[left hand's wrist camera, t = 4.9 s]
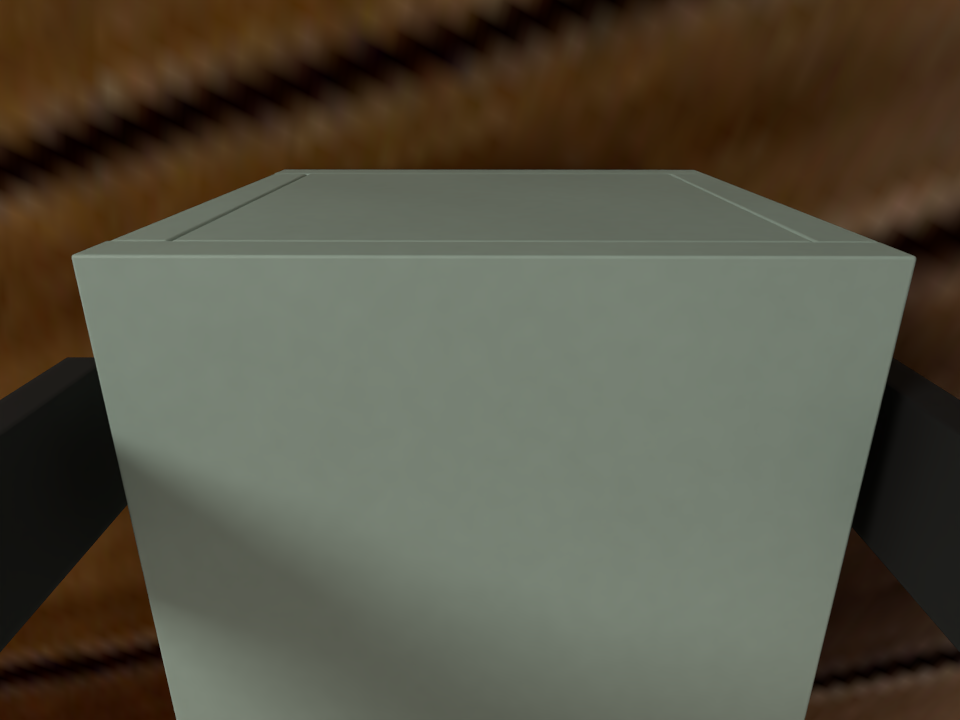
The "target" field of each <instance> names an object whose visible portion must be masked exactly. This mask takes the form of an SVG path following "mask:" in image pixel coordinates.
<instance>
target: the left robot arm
mask: <svg viewBox="0 0 960 720" xmlns="http://www.w3.org/2000/svg"><path fill="white" fill-rule="evenodd" d="M126 506H127V499H126V495H125V490H124V486H123V482H122V477H121V473H120V468H119V464H118V460H117V455H116V451H115V446H114V442H113V438H112V433H111V429H110V424H109V420H108V415H107V411H106V407H105V402H104V398H103V393H102V389H101V385H100V380H99V376H98V371H97V367H96V363H95V358H66V359H64V360H63V361H61V362H59V363H58V364H56V365H55V366H53V367H52V368H50V369H48V370H47V371H45V372H44V373H42V374H41V375H39V376H37V377H36V378H34V379H33V380H31V381H30V382H28V383H26V384H25V385H23V386H22V387H20V388H19V389H17V390H15V391H14V392H12V393H11V394H9V395H8V396H6V397H4V398H3V399H1V400H0V652H1V651H2V649H3V648H4V647H5V646H6V645H7V644H8V642H9V641H10V640H11V639H12V638H13V637H14V636H15V634H16V633H17V632H18V631H19V630H20V629H21V627H22V626H23V625H24V624H25V623H26V622H27V620H28V619H29V618H30V617H31V616H32V615H33V613H34V612H35V611H36V610H37V609H38V608H39V607H40V605H41V604H42V603H43V602H44V601H45V600H46V598H47V597H48V596H49V595H50V594H51V593H52V591H53V590H54V589H55V588H56V587H57V586H58V584H59V583H60V582H61V581H62V580H63V579H64V577H65V576H66V575H67V574H68V573H69V572H70V571H71V569H72V568H73V567H74V566H75V565H76V564H77V562H78V561H79V560H80V559H81V558H82V557H83V555H84V554H85V553H86V552H87V551H88V550H89V548H90V547H91V546H92V545H93V544H94V543H95V542H96V540H97V539H98V538H99V537H100V536H101V535H102V533H103V532H104V531H105V530H106V529H107V528H108V526H109V525H110V524H111V523H112V522H113V521H114V519H115V518H116V517H117V516H118V515H119V514H120V512H121V511H122V510H123V509H124V508H125V507H126ZM852 528H853V529H854V530H855V531H856V532H857V533H858V535H859V536H860V537H861V538H862V539H863V540H864V542H865V543H866V544H867V545H868V546H869V547H870V548H871V550H872V551H873V552H874V553H875V554H876V555H877V557H878V558H879V559H880V560H881V561H882V562H883V564H884V565H885V566H886V567H887V568H888V569H889V571H890V572H891V573H892V574H893V575H894V576H895V577H896V579H897V580H898V581H899V582H900V583H901V584H902V586H903V587H904V588H905V589H906V590H907V591H908V593H909V594H910V595H911V596H912V597H913V598H914V600H915V601H916V602H917V603H918V604H919V605H920V607H921V608H922V609H923V610H924V611H925V612H926V613H927V615H928V616H929V617H930V618H931V619H932V620H933V622H934V623H935V624H936V625H937V626H938V627H939V629H940V630H941V631H942V632H943V633H944V634H945V636H946V637H947V638H948V639H949V640H950V641H951V642H952V644H953V645H954V646H955V647H956V648H957V649H958V651H959V652H960V400H959V399H957V398H956V397H954V396H952V395H951V394H949V393H948V392H946V391H945V390H943V389H941V388H940V387H938V386H937V385H935V384H934V383H932V382H930V381H929V380H927V379H926V378H924V377H923V376H921V375H919V374H918V373H916V372H915V371H913V370H912V369H910V368H908V367H907V366H905V365H904V364H902V363H901V362H899V361H897V360H896V359H894V358H892V361H891V366H890V370H889V374H888V378H887V382H886V386H885V390H884V394H883V399H882V403H881V407H880V411H879V415H878V419H877V423H876V427H875V432H874V436H873V440H872V444H871V448H870V452H869V456H868V460H867V464H866V469H865V473H864V477H863V481H862V485H861V489H860V493H859V497H858V502H857V506H856V510H855V514H854V518H853V522H852Z"/></svg>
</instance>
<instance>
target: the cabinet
mask: <svg viewBox="0 0 960 720" xmlns="http://www.w3.org/2000/svg"><path fill="white" fill-rule="evenodd" d="M72 261H73V266H74V270H75V274H76V279H77V283H78V288H79V292H80V296H81V301H82V305H83V310H84V314H85V318H86V323H87V327H88V332H89V336H90V341H91V345H92V349H93V354H94V358H95V363H96V367H97V371H98V376H99V380H100V385H101V389H102V393H103V398H104V402H105V407H106V411H107V415H108V420H109V424H110V429H111V433H112V438H113V442H114V446H115V451H116V455H117V460H118V464H119V468H120V473H121V477H122V482H123V486H124V490H125V495H126V499H127V504H128V508H129V512H130V517H131V521H132V526H133V530H134V534H135V539H136V543H137V548H138V552H139V557H140V561H141V565H142V570H143V574H144V579H145V583H146V587H147V592H148V596H149V601H150V605H151V609H152V614H153V618H154V623H155V627H156V631H157V636H158V640H159V645H160V649H161V654H162V658H163V662H164V667H165V671H166V676H167V680H168V684H169V689H170V693H171V698H172V702H173V706H174V711H175V715H176V720H805V716H806V712H807V708H808V704H809V699H810V695H811V691H812V687H813V683H814V679H815V675H816V671H817V666H818V662H819V658H820V654H821V650H822V646H823V642H824V638H825V633H826V629H827V625H828V621H829V617H830V613H831V609H832V605H833V600H834V596H835V592H836V588H837V584H838V580H839V576H840V572H841V568H842V563H843V559H844V555H845V551H846V547H847V543H848V539H849V535H850V530H851V526H852V522H853V518H854V514H855V510H856V506H857V502H858V497H859V493H860V489H861V485H862V481H863V477H864V473H865V469H866V464H867V460H868V456H869V452H870V448H871V444H872V440H873V436H874V432H875V427H876V423H877V419H878V415H879V411H880V407H881V403H882V399H883V394H884V390H885V386H886V382H887V378H888V374H889V370H890V366H891V361H892V357H893V353H894V349H895V345H896V341H897V337H898V333H899V328H900V324H901V320H902V316H903V312H904V308H905V304H906V300H907V296H908V291H909V287H910V283H911V279H912V275H913V271H914V267H915V263H916V257H915V256H913V255H910V254H908V253H905V252H902V251H900V250H897V249H895V248H892V247H890V246H887V245H885V244H882V243H880V242H877V241H874V240H872V239H869V238H867V237H864V236H861V235H859V234H856V233H854V232H851V231H849V230H846V229H844V228H841V227H839V226H836V225H833V224H831V223H828V222H826V221H823V220H821V219H818V218H816V217H813V216H810V215H808V214H805V213H803V212H800V211H798V210H795V209H793V208H790V207H787V206H785V205H782V204H780V203H777V202H775V201H772V200H770V199H767V198H765V197H762V196H759V195H757V194H754V193H752V192H749V191H747V190H744V189H742V188H739V187H736V186H734V185H731V184H729V183H726V182H724V181H721V180H719V179H716V178H713V177H711V176H708V175H706V174H703V173H701V172H698V171H695V170H282V171H280V172H277V173H275V174H274V175H271V176H269V177H267V178H264V179H262V180H259V181H257V182H254V183H252V184H249V185H247V186H244V187H242V188H239V189H237V190H235V191H232V192H230V193H227V194H225V195H222V196H220V197H217V198H215V199H212V200H210V201H207V202H205V203H203V204H200V205H198V206H195V207H193V208H190V209H188V210H185V211H183V212H180V213H178V214H176V215H173V216H171V217H168V218H166V219H163V220H161V221H158V222H156V223H153V224H151V225H148V226H146V227H144V228H141V229H139V230H136V231H134V232H131V233H129V234H126V235H124V236H121V237H119V238H116V239H114V240H112V241H106V242H104V243H101V244H99V245H96V246H94V247H91V248H89V249H86V250H84V251H81V252H79V253H76V254H74V255H72Z"/></svg>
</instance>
